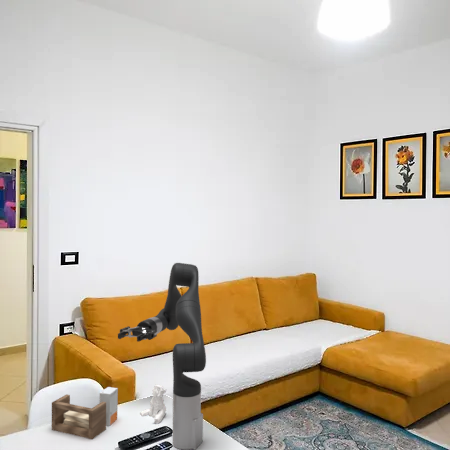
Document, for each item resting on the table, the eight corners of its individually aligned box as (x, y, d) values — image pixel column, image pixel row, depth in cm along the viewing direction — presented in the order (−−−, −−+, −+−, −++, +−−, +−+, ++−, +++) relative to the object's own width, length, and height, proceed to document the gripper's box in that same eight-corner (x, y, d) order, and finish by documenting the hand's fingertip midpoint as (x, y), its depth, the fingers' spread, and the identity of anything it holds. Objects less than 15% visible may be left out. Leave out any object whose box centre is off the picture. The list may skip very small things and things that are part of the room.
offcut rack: (106, 432, 159) (106, 402, 159) (92, 442, 152) (92, 411, 152) (66, 423, 166) (66, 394, 165) (51, 432, 159) (51, 402, 158)
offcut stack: (99, 428, 160) (99, 414, 160) (90, 435, 155) (90, 421, 155) (71, 422, 164) (71, 409, 164) (61, 428, 159) (61, 414, 159)
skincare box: (109, 427, 162) (109, 394, 161) (98, 426, 163) (99, 392, 162) (118, 420, 168) (118, 387, 167) (107, 418, 169) (107, 386, 168)
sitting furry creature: (138, 417, 171) (138, 385, 170) (154, 409, 178) (154, 378, 177) (157, 424, 165) (157, 391, 165) (173, 415, 173) (173, 384, 172)
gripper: (135, 317, 194) (112, 326, 179) (165, 320, 189) (144, 330, 174) (135, 334, 194) (112, 345, 179) (164, 338, 189) (144, 349, 174)
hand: (128, 337), depth 176 cm, fingers open, 8 cm apart
